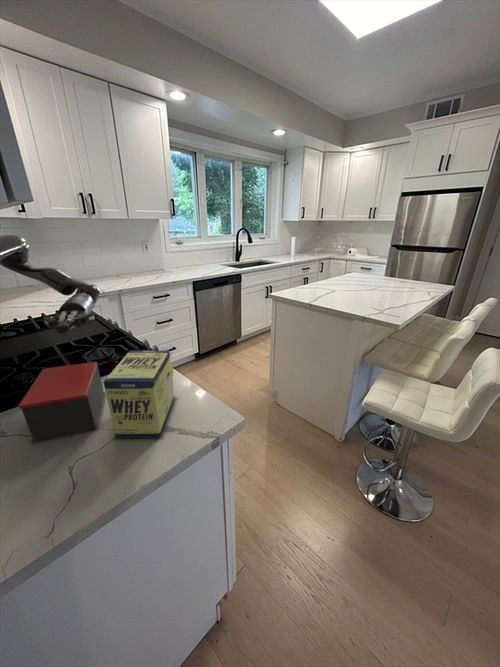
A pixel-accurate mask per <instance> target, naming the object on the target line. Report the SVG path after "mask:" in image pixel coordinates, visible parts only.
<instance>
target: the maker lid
mask: <svg viewBox="0 0 500 667" xmlns="http://www.w3.org/2000/svg"><path fill="white" fill-rule="evenodd" d="M97 364H98V361H91V362H84V363H76V364H69V365H68V364H67V365H61V366H54V367H46V368H42V369H41V371H40V373H39V374H38V375H37V377H36V379H35V380H34V382H33V383H32V385H31V386H30V388H29V389H28V391H27V392H26V394H25V395H24V397H23V398H22V400H21V401H20V403H19V404H18V406H17V407H18V409H19V410H22V408H28V407H34V406H40V405H46V404H52V403H57V402H63V401H69V400H75V399H81V398H86V397H87V394H88V391H89V388H90V385H91V382H92V379H93V376H94V373H95V370H96V367H97Z"/></svg>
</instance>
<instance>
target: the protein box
mask: <svg viewBox="0 0 500 667" xmlns="http://www.w3.org/2000/svg"><path fill="white" fill-rule="evenodd" d="M171 365H172V362H171V352H170V350H129V351H128V352H127V353H126V355H124V357H123V358H121V360H120V362H119V363H118V364H117V365H116V366H115V368H114V369H113V370H112V371H111V372H110V374H108V375H107V377H106V378H105V379H104V380H103V381H102V384H103V388H104V391H105V395H106V400H107V404H108V409H109V413H110V417H111V423H112V427H113V432H114V435H115V439H160V438H161V437H162V435H163V431H164V428H165V426H166V424H167V421H168V419H169V416H170V413H171V410H172V408H173V405H174V403H175V400H176V398H175V389H174V381H173V376H172V371H171Z"/></svg>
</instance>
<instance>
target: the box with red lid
mask: <svg viewBox="0 0 500 667" xmlns="http://www.w3.org/2000/svg"><path fill="white" fill-rule="evenodd" d="M104 391H105V390H104V385H103V381H102V378H101V373H100V369H99V365H98V363H97V367H96V370H95V373H94V376H93V379H92V382H91V385H90V388H89V391H88V394H87V397H86V398H81V399H75V400H69V401H63V402H57V403H52V404H46V405H40V406H34V407H28V408H22V409H21V411H22V414H23V417H24V419H25V422H26V425H27V427H28V430H29V432H30V435H31V437H32V441H33V442H34V443H37V442H41V441H46V440H51V439H57V438H61V437H66V436H70V435H75V434H81V433H86V432H90V431H91V432H92V431H96V430H97V427H98V423H99V420H100V414H101V409H102V406H103V402H104V397H105V392H104Z"/></svg>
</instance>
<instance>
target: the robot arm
mask: <svg viewBox="0 0 500 667" xmlns="http://www.w3.org/2000/svg"><path fill="white" fill-rule="evenodd" d="M29 255H30V245H29V242H28V241H27V240H26V239H25V238H24V237H23V236H19V235H15V234H2V235H0V266H2V267H3V268H5V269H7V270H9V271H12V272H15V273H17V274H19V275H22V276H24V277H27V278H29V279H32V280H34V281H37V282H40V283H42V284H44V285H46V286H47V287H49V288H51V289H53V290H54V291H56V292H57V293H59V294H61V295H63V296H65V297H66V296H71V295H72V296H71V297H70V298H68V299H67V300H65V302H64V303H62V305H61V306H60V307H59V309H58V310H57V311H58V312H57V313H55V314H54V315H53V316H47V315H45V316H43V323H44V325H45V327H48V328H50V329H52V330H55V331H56V332H57V333H59V335H62V334H67V333H68V332H70V331H71V330H72V329H74V328H80V327H83V326H84V327H85V326H86V325H89V324H91V323H94V322H96V318H95V314H94V312H92V311H93V310H94V308H95V306H96V304H97V301H98V299H99V297H100V295H101V290H100V288H99V287H98V286H97V285H96V284H94V283H91V282H88V281H83V280H79V279H78V278H77V279H76V278H74V277H73V276H71V275H69V274H67V273H66V272H64V271H62V270H61V269H58V268H56V267H35V266H33V265H32V264H31V263H30V262H29Z"/></svg>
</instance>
